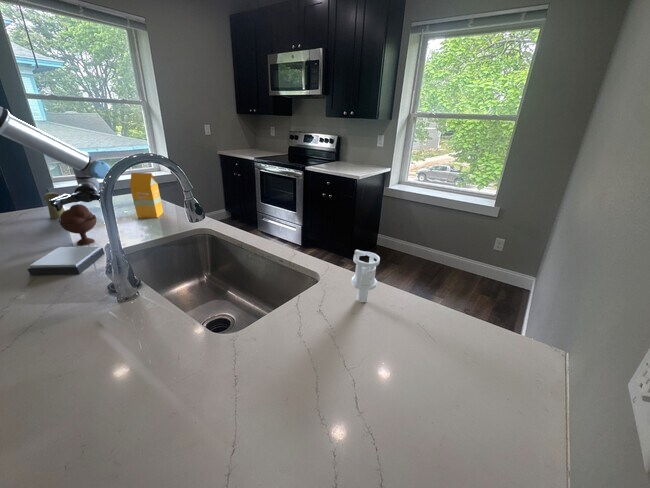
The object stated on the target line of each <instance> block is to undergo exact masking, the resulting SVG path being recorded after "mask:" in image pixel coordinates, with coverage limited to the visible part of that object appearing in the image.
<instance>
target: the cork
mask: <svg viewBox="0 0 650 488" xmlns="http://www.w3.org/2000/svg"><path fill="white" fill-rule="evenodd" d="M59 196H60V194H59V193H57V192H47V193H44V194H43V199H44V200H45V201H46V204H47V209H48V214H49V218H50V219H51V218H53V219H52V220H57V219H56V218H59V219H60V216H61V214H62V213H63V212H64V211H66V209H65V208H64V206H63V207H62V209H61V210H60V211H57V209H56V208H55V206H54V207H53V206H51V204H50V201H49V200H51V199H54V198H57V197H59Z"/></svg>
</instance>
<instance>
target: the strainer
mask: <svg viewBox="0 0 650 488" xmlns="http://www.w3.org/2000/svg"><path fill="white" fill-rule="evenodd" d="M365 256H367V257H369V258H368V259H369V260H368V262H365V261H363V260H361V259H360V257H365ZM352 259H353V263H354V264H355V271H354V275H353V276H352V277H351V282H350V283H351V285H352V287H354V288H355V289H357V296H356V301H357V300H358V301H359V302H358V301H357V302H358V303H361V302H365V303H367V302H368V299H369V291H372V290H375V289H376V288H377V286H378V280H377V278H375V277H376V271H377V267H378V266H379V265H380V261H381V257H380V256H379V255H378V254H377V253H375V252H371V251H366V250H365V251H364V250H360V249H355V250H354V254H353V258H352Z"/></svg>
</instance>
